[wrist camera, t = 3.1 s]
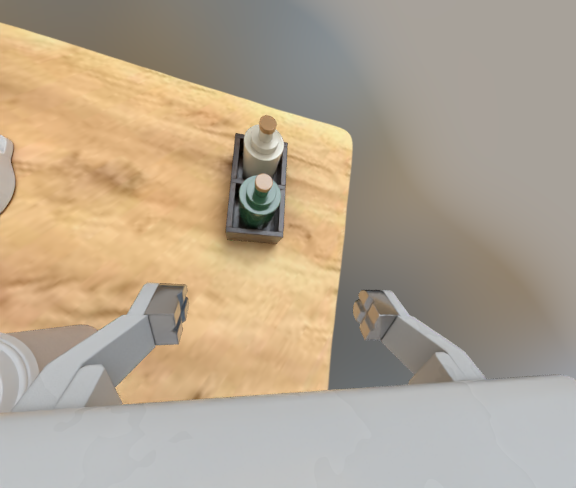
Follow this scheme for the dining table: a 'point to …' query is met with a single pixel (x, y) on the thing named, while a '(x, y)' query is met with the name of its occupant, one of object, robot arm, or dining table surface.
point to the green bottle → (258, 201)
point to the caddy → (233, 226)
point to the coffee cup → (32, 357)
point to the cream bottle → (262, 149)
